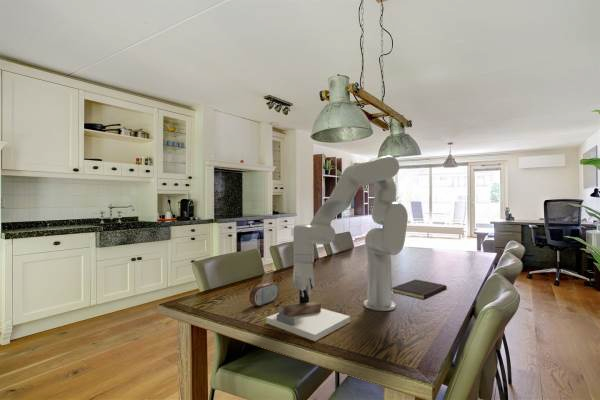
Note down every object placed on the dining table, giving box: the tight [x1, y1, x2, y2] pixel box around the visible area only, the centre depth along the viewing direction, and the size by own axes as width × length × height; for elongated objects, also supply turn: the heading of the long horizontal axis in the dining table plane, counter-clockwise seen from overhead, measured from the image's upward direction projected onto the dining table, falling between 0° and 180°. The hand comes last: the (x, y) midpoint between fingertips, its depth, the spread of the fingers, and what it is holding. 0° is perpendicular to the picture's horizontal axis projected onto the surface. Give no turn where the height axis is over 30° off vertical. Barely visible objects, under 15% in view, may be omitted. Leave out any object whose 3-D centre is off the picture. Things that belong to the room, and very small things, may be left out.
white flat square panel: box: [265, 307, 351, 342], centre depth 111 cm, size 20×22×4 cm
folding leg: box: [278, 301, 322, 317], centre depth 114 cm, size 16×3×4 cm, turn 113°
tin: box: [248, 281, 279, 307], centre depth 132 cm, size 15×3×8 cm, turn 141°
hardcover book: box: [392, 278, 448, 300], centre depth 150 cm, size 16×23×2 cm
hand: (304, 306), depth 118 cm, fingers closed
